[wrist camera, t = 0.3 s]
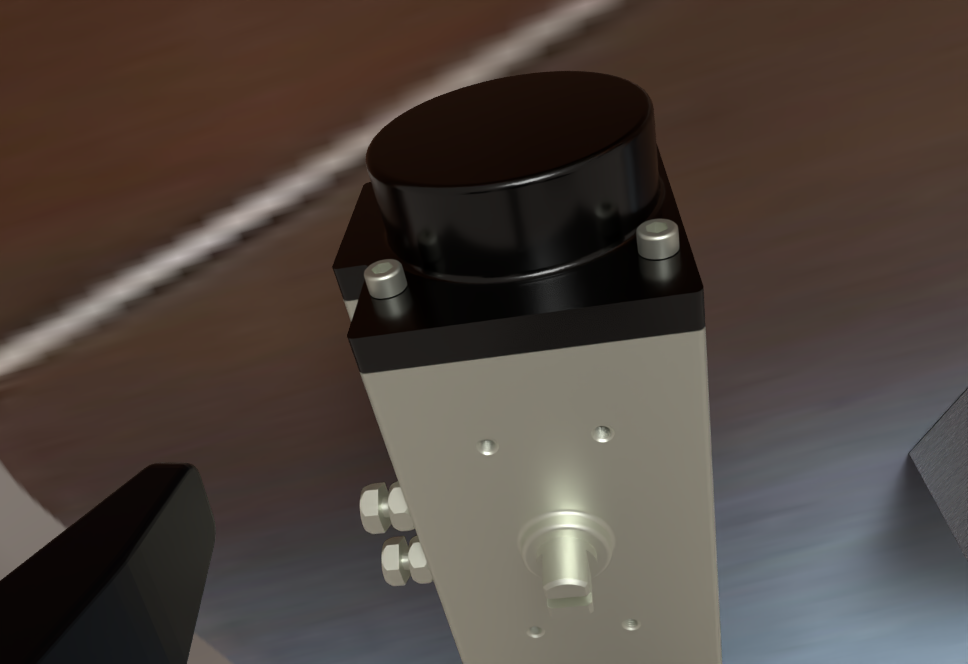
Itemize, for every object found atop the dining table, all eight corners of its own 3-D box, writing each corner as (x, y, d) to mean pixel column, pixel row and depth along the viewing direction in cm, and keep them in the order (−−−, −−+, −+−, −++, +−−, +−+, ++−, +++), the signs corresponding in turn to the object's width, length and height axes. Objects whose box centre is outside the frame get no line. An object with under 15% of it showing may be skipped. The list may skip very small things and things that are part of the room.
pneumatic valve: (616, -24, 18) (717, 231, 9) (655, 381, 25) (738, 790, 15) (378, 22, 19) (220, 304, 9) (476, 403, 26) (444, 804, 16)
